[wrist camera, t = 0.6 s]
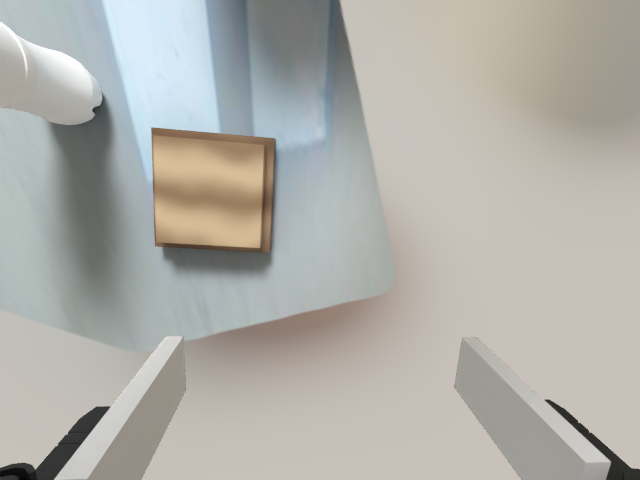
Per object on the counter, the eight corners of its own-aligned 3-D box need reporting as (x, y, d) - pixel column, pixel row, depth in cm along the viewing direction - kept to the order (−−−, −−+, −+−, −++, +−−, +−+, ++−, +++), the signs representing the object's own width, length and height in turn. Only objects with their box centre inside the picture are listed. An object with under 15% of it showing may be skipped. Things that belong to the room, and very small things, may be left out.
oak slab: (160, 137, 36) (153, 135, 34) (265, 146, 37) (263, 144, 35) (163, 238, 38) (156, 242, 36) (261, 244, 40) (259, 248, 38)
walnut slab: (158, 129, 38) (151, 127, 36) (275, 140, 39) (274, 138, 37) (161, 242, 40) (155, 246, 38) (270, 248, 42) (269, 252, 40)
